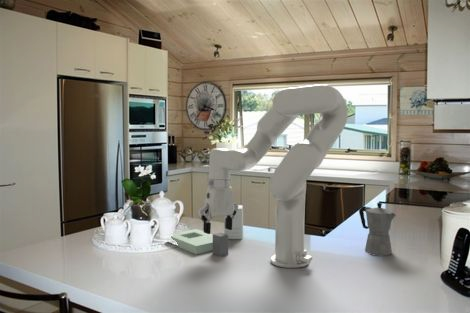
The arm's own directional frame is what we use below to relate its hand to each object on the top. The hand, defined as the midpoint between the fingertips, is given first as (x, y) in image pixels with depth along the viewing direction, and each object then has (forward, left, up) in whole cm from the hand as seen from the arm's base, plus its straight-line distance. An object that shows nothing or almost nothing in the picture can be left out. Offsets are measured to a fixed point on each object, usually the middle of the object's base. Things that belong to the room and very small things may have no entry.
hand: (217, 231), depth 147 cm
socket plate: (+14, 0, -8) cm, 16 cm away
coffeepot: (-35, -45, -8) cm, 58 cm away
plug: (-1, 0, -8) cm, 8 cm away
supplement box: (+13, -18, -8) cm, 24 cm away
